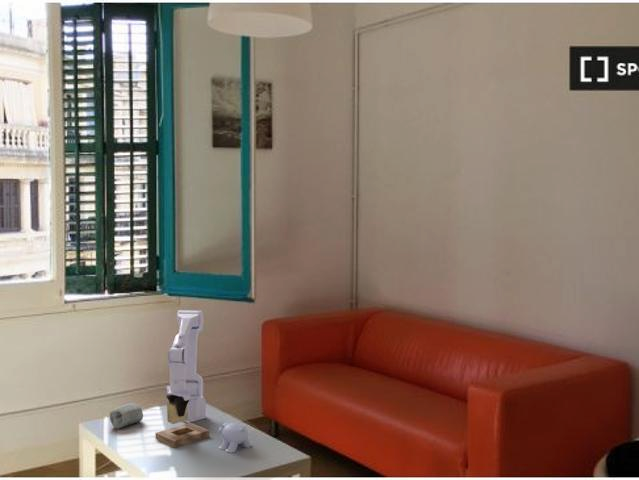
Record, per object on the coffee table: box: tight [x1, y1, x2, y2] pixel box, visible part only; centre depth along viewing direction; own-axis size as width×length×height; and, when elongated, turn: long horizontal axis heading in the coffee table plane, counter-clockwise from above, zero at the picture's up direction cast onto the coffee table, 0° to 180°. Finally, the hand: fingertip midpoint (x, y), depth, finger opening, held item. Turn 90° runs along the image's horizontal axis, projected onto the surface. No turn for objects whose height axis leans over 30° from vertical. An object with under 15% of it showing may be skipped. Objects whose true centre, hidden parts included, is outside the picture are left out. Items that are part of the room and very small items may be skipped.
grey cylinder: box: [109, 402, 144, 430], centre depth 300 cm, size 14×10×10 cm
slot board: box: [154, 422, 211, 449], centre depth 286 cm, size 16×12×2 cm
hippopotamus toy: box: [218, 421, 253, 454], centre depth 278 cm, size 11×15×10 cm
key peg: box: [166, 401, 188, 425], centre depth 286 cm, size 4×6×7 cm, turn 128°
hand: (178, 414), depth 286 cm, fingers closed on key peg, 4 cm apart
